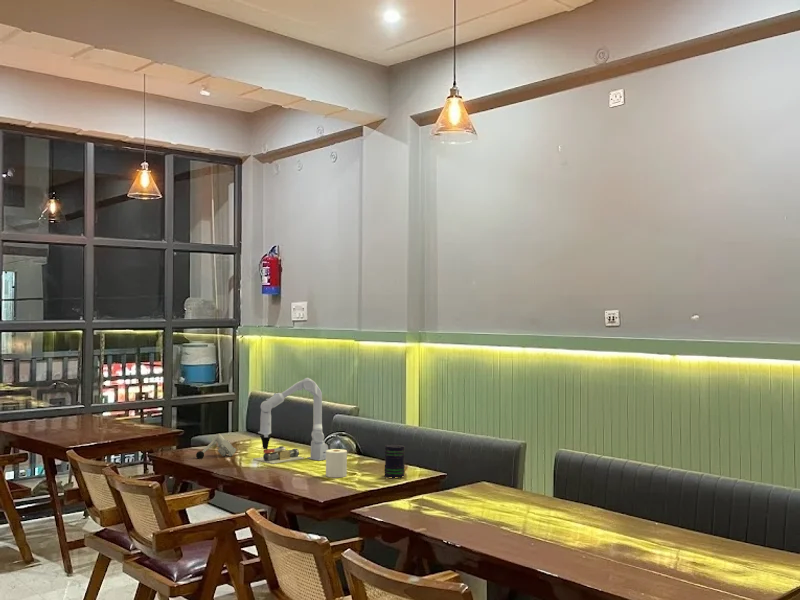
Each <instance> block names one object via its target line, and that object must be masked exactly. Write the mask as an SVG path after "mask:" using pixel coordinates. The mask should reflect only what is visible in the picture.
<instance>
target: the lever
mask: <svg viewBox="0 0 800 600" xmlns="http://www.w3.org/2000/svg"><path fill="white" fill-rule="evenodd" d="M285 450H287V447H285V446H283V445H282V446H279V447H276V448H267V449H263V453H264V454H265V453H272V452H277V451H285ZM263 453H262V454H263Z"/></svg>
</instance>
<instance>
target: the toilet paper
mask: <svg viewBox="0 0 800 600" xmlns="http://www.w3.org/2000/svg"><path fill="white" fill-rule="evenodd" d="M347 462H348V451H347V449H343V448H342V449H341V448H340V449H339V448H333V449H328V450H326V459H325V477H328V478H345V477H347V475H348V471H347V469H348V468H347V467H348V463H347Z"/></svg>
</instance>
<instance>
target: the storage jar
mask: <svg viewBox="0 0 800 600" xmlns="http://www.w3.org/2000/svg"><path fill="white" fill-rule="evenodd" d="M384 447H385V448H384V457H385V459H384V460H385V462H384V469H383V470H384V477H385V476H386V477H392V478H391V479H394V478H395V477H402V476H404V477H405V468H406V467H405V457H406V449H405V448H406V445H404V444H401V443H388V444H385V445H384ZM386 477H385V478H386Z"/></svg>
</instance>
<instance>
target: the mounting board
mask: <svg viewBox="0 0 800 600" xmlns="http://www.w3.org/2000/svg"><path fill="white" fill-rule="evenodd" d="M252 460H253V461H257V462H262V463H267V464H271V465H273V464H278V463H286V462H291V461H297V460H305V456H304V457H302V456H300V455H298V457H290V459H284V460H277V459H276V460H270V461H264V459H263V456H262V457H261V456H260V457H256V458H253V459H252Z"/></svg>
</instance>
